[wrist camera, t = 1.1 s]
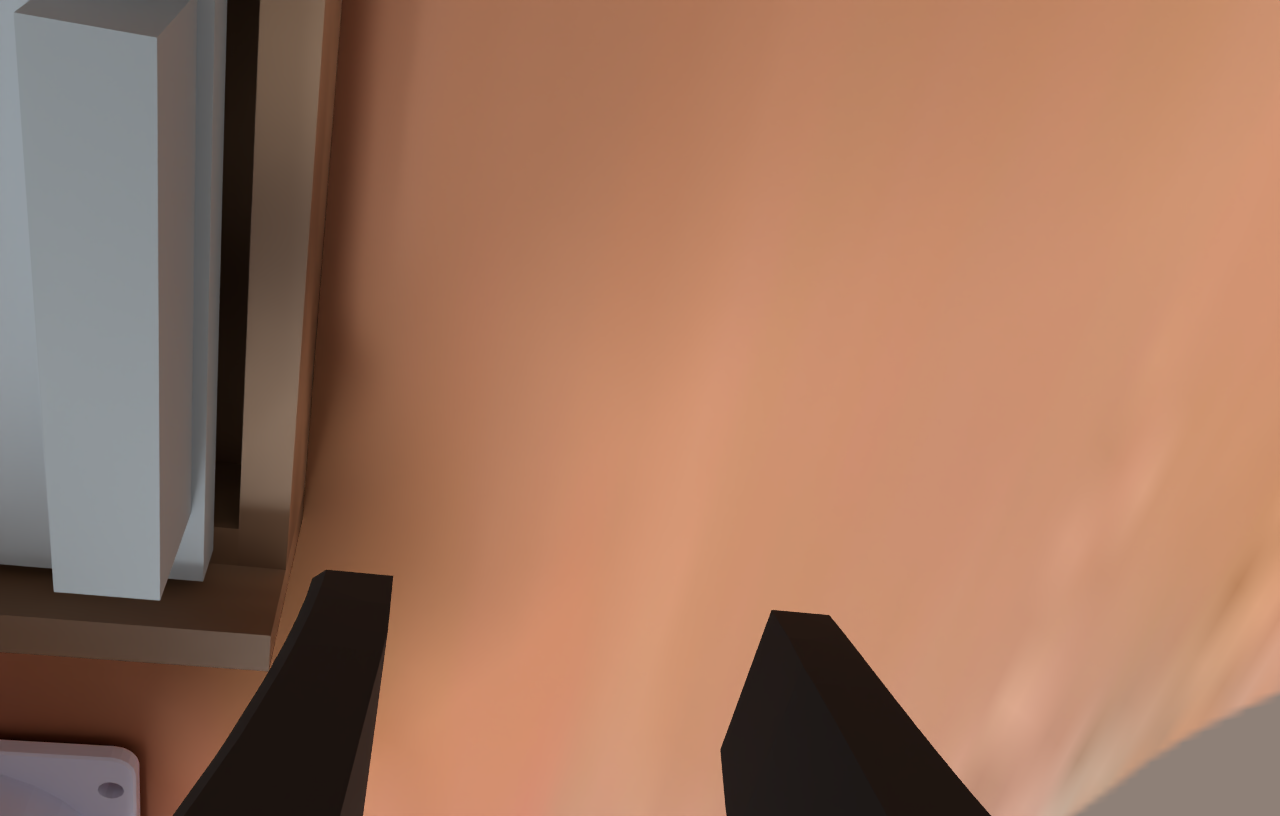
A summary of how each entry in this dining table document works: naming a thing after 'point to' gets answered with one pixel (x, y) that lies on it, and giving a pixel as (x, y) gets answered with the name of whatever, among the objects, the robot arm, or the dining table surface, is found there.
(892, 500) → the dining table surface
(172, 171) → the cover plate
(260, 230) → the case
